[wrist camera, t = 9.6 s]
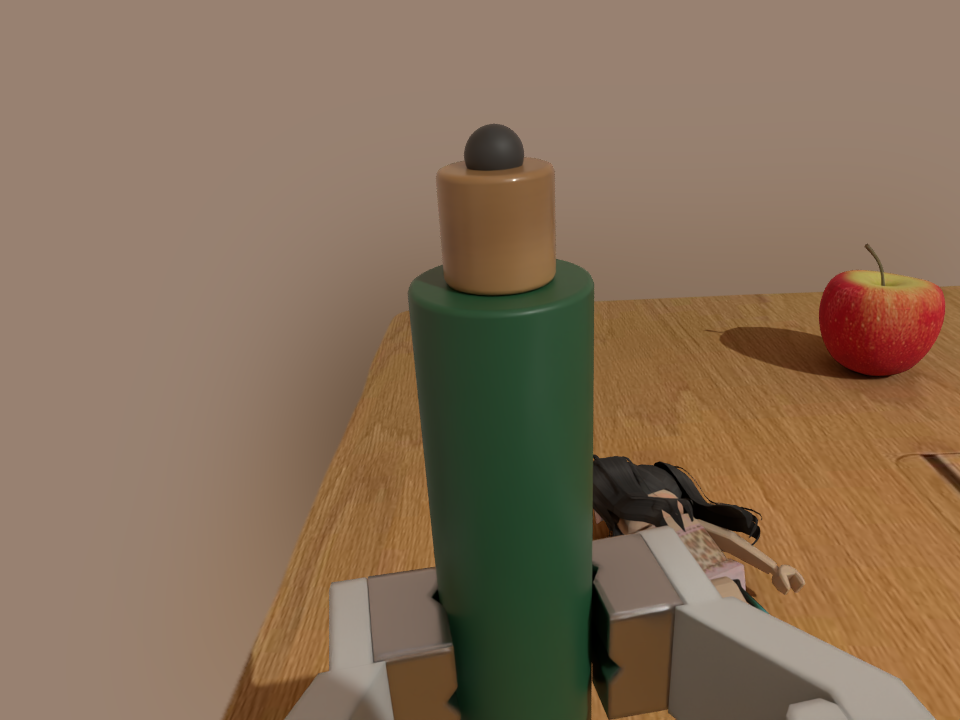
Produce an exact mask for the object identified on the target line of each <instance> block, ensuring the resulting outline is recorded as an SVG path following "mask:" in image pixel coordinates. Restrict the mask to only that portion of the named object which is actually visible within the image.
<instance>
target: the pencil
mask: <svg viewBox="0 0 960 720" xmlns="http://www.w3.org/2000/svg"><path fill="white" fill-rule="evenodd" d="M464 159H465V161H460V162H456V163H452V164H449V165H447V166H444V167H442V168H441V169H439V170H438V172H437V176H436V186H437V198H438V211H439V223H440V235H441V247H442V260H443V265H441V266H438V267H435V268H433V269H430V270H428V271H426V272H424V273H423V274H421V275H419V276H418V277H416V278H415V279H414V280H413V281H412V283H411V284H410V287H409V290H408V302H409V311H410V321H411V331H412V341H413V350H414V360H415V370H416V380H417V389H418V399H419V409H420V419H421V428H422V438H423V448H424V458H425V467H426V477H427V487H428V497H429V506H430V516H431V526H432V536H433V545H434V555H435V565H436V575H437V584H438V594H439V603H440V604H441V605H442V606H443V607H444V608H445V610H446V611H447V616H448V621H449V626H450V631H451V637H452V642H453V647H454V656H455V666H456V675H457V684H458V687H457V689H456V693H457V698H458V704H459V709H460V715H461V720H591V683H592V532H593V381H594V282H593V279H592V277H591V275H590V274H589V273H588V272H587V271H586V270H585V269H583V268H582V267H580V266H577V265H575V264H573V263H570V262H566V261H563V260H558V259H556V233H555V174H554V172H555V171H554V168H553V166H552V164H551V163H549V162H547V161H543V160H541V159H536V158H527V157H524V150H523V145H522V142H521V140H520V138H519V137H518V136H517V134H516V133H515V132H514V131H513V130H511V129H510V128H508V127H506V126H504V125H500V124H489V125H485V126H483V127H480V128H479V129H477V130H476V131H475V132H474V133H473V134H472V135H471V136H470V138H469V139H468V141H467V143H466V146H465V151H464Z"/></svg>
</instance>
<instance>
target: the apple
mask: <svg viewBox="0 0 960 720" xmlns="http://www.w3.org/2000/svg"><path fill="white" fill-rule="evenodd" d="M865 247H866V249H867V250H868V251H869V252H870V253H871V254H872V255H873V256H874V258H875V259H876V261H877V262H878V265H879V268H880V272H876V271H867V270H851V271H846V272H842V273H840V274H838V275H836V276H835V277H834V278H833V279H831V280H830V282H829V283H828V285H827V287H826V288H825V290H824V292H823V295H822V299H821V302H820V308H819V324H820V330H821V335H822V338H823V341H824V343H825V346H826V348H827V350H828V351H829V353H830V354H831V356H832V357H833V358H834V359H835V360H836V361H837V362H838V363H840V364H841V365H843V366H844V367H846V368H848V369H850V370H853V371H855V372H858V373H861V374H865V375H873V376H885V375H894V374H898V373H901V372H904V371H906V370H908V369H910V368H912V367H913V366H914V365H916V364H917V363H918V362H919V361H920V360H921V359H922V358H923V357H924V356H925V355H926V354H927V352H928V351H929V350H930V349H931V347H932V345H933V344H934V342H935V341H936V339H937V337H938V335H939V333H940V330H941V327H942V324H943V320H944V315H945V299H944V295H943V292H942V290H941V289H940V288H939V287H938V286H937V285H935V284H934V283H931V282H929V281H926V280H922V279H917V278H912V277H908V276H902V275H897V274H891V273H885V272H884V271H883V267H882V265H881V262H880V260H879V258H878V257H877V255H876V254H875V252H874V251H873V249H872V248H871V247H870V246H869V245H868V244H866V245H865Z"/></svg>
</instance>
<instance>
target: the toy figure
mask: <svg viewBox="0 0 960 720" xmlns="http://www.w3.org/2000/svg"><path fill="white" fill-rule="evenodd" d="M593 458H594V461H593V509H594V512H595V517H596V523H597V524H598V523H599V522H601V521H603V520H604V521H605V522H606V524H607V526H608V528H609V530H610V531H613V536H619V535H625V534H630V533H635V532H637V531H642V530H647V529H652V528H657V527H662V526H669V527H671V528H673V529H674V531H675V532H676V533H677V535H678V536H679V538H680V539H681V540H682V542H683V543H684V545H685V546H686V547H687V549H688V550H689V552H690V553H691V554H692V556H693V557H694V559H695V560H696V561H697V563H698V564H699V565H700V567H701V568H702V570H703V571H704V572H705V574H706V575H707V577H708V578H709V579H710V581H711V582H712V584H713V585H714V586H715V588H716V589H717V591H718V592H719V593H720V595H721V596H722V598H724V597H730V596H733V597H735V598H737V599H739V600H741V601H743V602H745V603H747V602H748V603H749V604H750V605H751V606H753V607H755V608H757V609H759V610H761V611H763V612H765V613H767V614H769V613H768V612H767V611H766V610H765V609H764V608H763V607H762V606H761V605H760V604H758V603H757V602H756V601H755V600H754V599H753V598H752V597H751V596H750V595H749V594H748V593H747V592H746V586H745V574H744V565H743V564H740V563H738V562H736V561H734V560H732V559H727V558H726V557H725V555H724V554H723V552H722V551H724V552H728V553H730V554H732V555H734V556H736V557H737V558H739V559H741V560H743V561H745V562H747V563H749V564H750V565H752V566H754V567H756V568H758V569H760V570H762V571H763V572H765V573H767V574H769V573H771V574H773V576H772V583H773V584H774V586H775V587H776V588H777V590H778V591H780V592H781V593H783V594H784V595H785V594H787V593H788V591H789V590H790V588H792V589H793V591H794V592H795V593H798V592H799V591H800V589H801V588H802V587H803V586H804V585H805V580H804V578H803V577H802V576H801V574H800V573H799V572H798V571H797V570H796V569H794V568H793V567H791V566H790V565H781V566H780V567H778V566H777V565H776V564H777V563H775V562H774V561H773V560H772V559H770V558H769V557H768V556H766V555H765V554H764V553H762V552H761V551H760V550H758V549H757V548H756V547H754V546H753V545H754V544H755V543H756V542H757V540H758V539H759V537H760V527H759V526H757V524H758V519H757V518H756V516H754V515H752V513H750V512H748V511H746V510H750V511H754V510H752V509H747V508H743V507H738V506H737V505H730V504H724V503H720V504H716V503H714V502H712V501H710V500H709V499H708V498H707V497H706V496H705V497H706V498H707V499H708V500H709V501H710V502H712V503H714V504H716V505H713V504H711V503H707V502H706V501H705V500H704V499H703V498H702V496H701V495H700V493H699V491H698V490H697V488H696V487H695V485H694V483H693V482H692V480H691V479H690V478H689V477H688V476H687V475H686V474H685V473H683V472H682V471H680V470H679V469H677V468H681V467H678V466H672V465H670V464H667V463H663V462H657V463H655V464H654V466H653V465H642V464H641V465H638V466H637V465H635V464H633V463H632V462H631V461H630V460H629V458H627V457H624V456H623V457H619V456H614V457H607V458H599V457H598V456H597V455H593ZM626 459H627V460H628V461H629V462H627V460H626ZM681 469H683V468H681ZM683 470H684V469H683ZM685 471H686V470H685ZM686 472H687V471H686ZM688 474H689V473H688ZM689 475H690V474H689ZM690 476H691V475H690ZM691 477H692V476H691ZM692 478H693V477H692ZM693 479H694V478H693ZM696 483H697V482H696ZM698 486H699V485H698ZM700 489H701V488H700ZM701 491H702V490H701ZM702 492H703V491H702ZM703 494H704V493H703ZM744 509H746V510H744ZM754 512H755V513H757V514H759V515H760V513H758V512H756V511H754ZM760 516H761V515H760ZM761 517H762V516H761ZM699 519H700V520H699ZM761 520H762V519H761ZM752 521H753V522H752ZM754 522H755V523H756V524H755V523H754ZM721 527H722V528H721ZM724 528H725V529H724ZM727 529H728V530H727ZM730 530H731V531H730ZM610 531H609V537H610ZM733 531H736V532H743V533H745V534H748V535H750V536H749V538H750V537H751V536H752V537H754V538H755V539H756V540H755V542H754V543H753V544H752V545H751V544H750V543H748V542H747V541H745V540H744V539H743V538H741V537H740V536H738V535H737V534H735V533H734V532H733ZM613 536H612V537H613Z"/></svg>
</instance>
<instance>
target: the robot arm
mask: <svg viewBox="0 0 960 720" xmlns="http://www.w3.org/2000/svg"><path fill="white" fill-rule="evenodd" d="M592 681H593V684H594V686H595V688H596V691H597V693H598V696H599V698H600V700H601V703H602V705H603V707H604V710H605V712H606V715H607V717H608V719H609V720H612V719H617V718H623V717H628V716H634V715H640V714H645V713H651V712H657V711H662V710H668V713H669V714H671V715H672V716H673V717H674V718H676V719H677V720H936V719H935V718H934V717H933V716H932V715H931V713H930V712H929V711H928V710H927V709H926V708H925V707H924V706H923V704H922V703H921V702H920V701H919V700H918V699H917V698H916V697H915V695H914V694H913V693H912V692H911V691H910V690H909V689H908V688H907V686H906V685H905V684H904V683H903V682H902V681H901V680H900V679H899V678H897V677H895V676H893V675H891V674H889V673H887V672H885V671H883V670H881V669H879V668H877V667H875V666H873V665H870V664H868V663H866V662H864V661H862V660H860V659H858V658H856V657H854V656H852V655H850V654H848V653H846V652H844V651H842V650H840V649H838V648H836V647H834V646H832V645H830V644H828V643H826V642H824V641H822V640H820V639H818V638H816V637H814V636H812V635H810V634H808V633H806V632H804V631H802V630H800V629H798V628H796V627H794V626H792V625H790V624H788V623H786V622H784V621H782V620H779V619H777V618H775V617H773V616H771V615H769V614H767V613H765V612H763V611H761V610H759V609H757V608H755V607H753V606H751V605H749V604H747V603H745V602H743V601H741V600H739V599H737V598H735V597H733V596H730V597H724V598H722V596H721V595H720V593H719V592H718V591H717V589H716V588H715V586H714V585H713V584H712V582H711V581H710V579H709V578H708V577H707V575H706V574H705V572H704V571H703V570H702V568H701V567H700V565H699V564H698V563H697V561H696V560H695V559H694V557H693V556H692V554H691V553H690V552H689V550H688V549H687V547H686V546H685V545H684V543H683V542H682V540H681V539H680V538H679V536H678V535H677V533H676V532H675V531H674V529H673V528H671V527H669V526H662V527H657V528H652V529H647V530H642V531H637V532H635V533H630V534H625V535H619V536H613V537H608V538H602V539H596V540H592ZM457 687H458V684H457V675H456V666H455V656H454V647H453V642H452V637H451V631H450V626H449V621H448V616H447V611H446V610H445V608H444V607H443V606H442V605H441V604H440V603H439V594H438V584H437V575H436V567H430V568H423V569H417V570H410V571H403V572H396V573H389V574H383V575H376V576H369V577H368V579H367V578H359V579H352V580H346V581H339V582H333V583H331V586H330V590H329V672H324V673H319V674H318V675H317V676H316V677H315V679H314V680H313V682H312V683H311V684H310V686H309V687H308V688H307V690H306V691H305V692H304V694H303V695H302V696H301V698H300V699H299V700H298V702H297V703H296V704H295V706H294V707H293V708H292V710H291V711H290V713H289V714H288V715H287V717H286V718H285V719H284V720H461V715H460V709H459V704H458V698H457V693H456V689H457Z"/></svg>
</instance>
